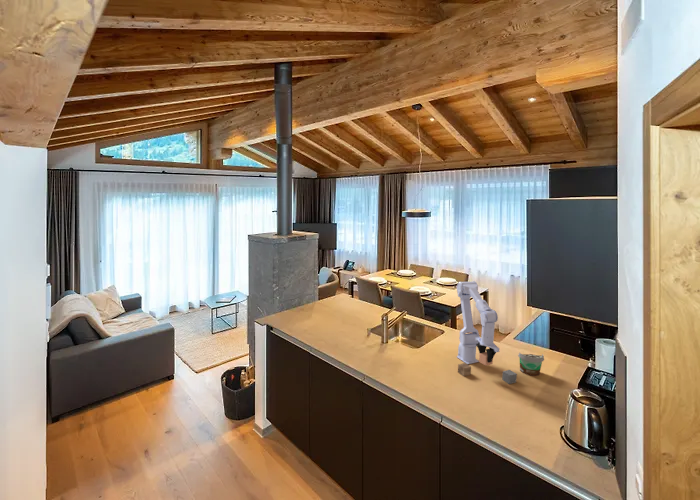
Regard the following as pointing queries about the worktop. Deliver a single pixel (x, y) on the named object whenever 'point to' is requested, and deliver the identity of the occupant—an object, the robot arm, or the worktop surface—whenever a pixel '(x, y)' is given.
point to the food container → (530, 364)
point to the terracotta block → (484, 359)
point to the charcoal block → (509, 376)
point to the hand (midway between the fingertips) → (485, 359)
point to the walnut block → (464, 369)
